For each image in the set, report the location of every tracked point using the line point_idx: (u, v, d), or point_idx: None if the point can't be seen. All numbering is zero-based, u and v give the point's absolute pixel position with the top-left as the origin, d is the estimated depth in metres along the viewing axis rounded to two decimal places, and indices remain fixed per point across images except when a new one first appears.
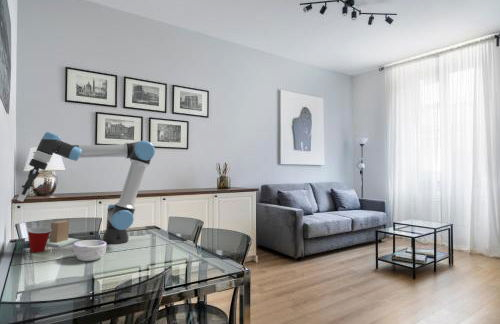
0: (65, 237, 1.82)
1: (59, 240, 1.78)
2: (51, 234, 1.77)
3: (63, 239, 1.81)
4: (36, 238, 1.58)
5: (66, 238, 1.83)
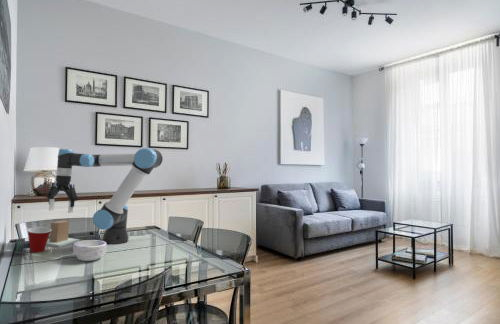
0: (65, 237, 1.82)
1: (59, 240, 1.78)
2: (51, 234, 1.77)
3: (63, 239, 1.81)
4: (36, 238, 1.58)
5: (66, 238, 1.83)
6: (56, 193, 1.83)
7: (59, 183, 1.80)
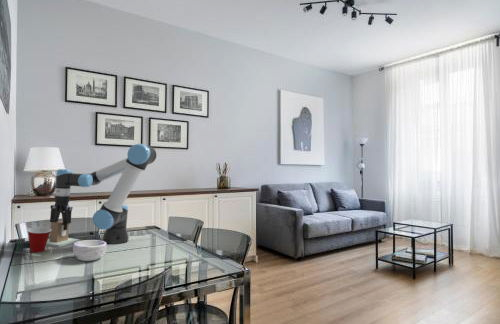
0: (65, 237, 1.82)
1: (59, 240, 1.78)
2: (51, 234, 1.77)
3: (63, 239, 1.81)
4: (36, 238, 1.58)
5: (66, 238, 1.83)
6: (58, 215, 1.82)
7: None
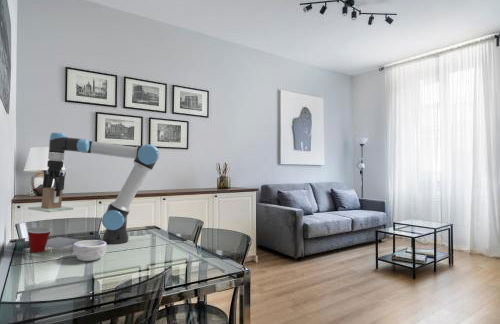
0: (58, 204, 1.73)
1: (51, 207, 1.69)
2: (43, 200, 1.69)
3: (56, 206, 1.72)
4: (36, 238, 1.58)
5: (59, 205, 1.74)
6: (51, 181, 1.73)
7: (50, 167, 1.72)
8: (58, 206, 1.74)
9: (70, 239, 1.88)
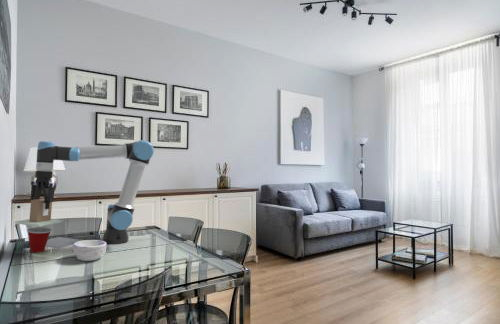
0: (47, 217, 1.64)
1: (40, 220, 1.59)
2: (31, 213, 1.59)
3: (45, 219, 1.62)
4: (36, 238, 1.58)
5: (48, 218, 1.64)
6: (39, 193, 1.63)
7: (38, 178, 1.62)
8: (47, 219, 1.64)
9: (70, 239, 1.88)
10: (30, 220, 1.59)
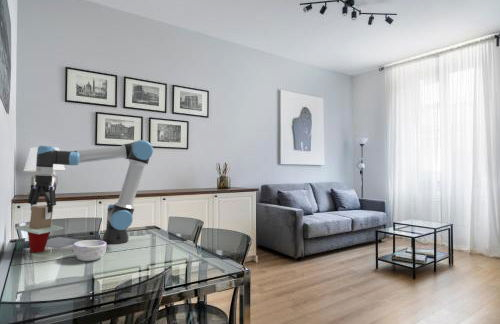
0: (47, 224, 1.64)
1: (40, 227, 1.59)
2: (31, 219, 1.59)
3: (45, 226, 1.62)
4: (36, 238, 1.58)
5: (48, 225, 1.64)
6: (38, 196, 1.64)
7: (38, 183, 1.62)
8: (47, 225, 1.64)
9: (70, 239, 1.88)
10: (30, 226, 1.59)
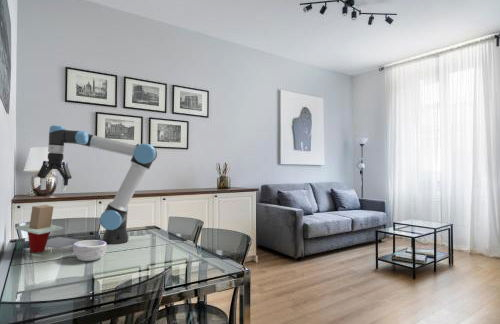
0: (47, 224, 1.64)
1: (40, 227, 1.59)
2: (32, 219, 1.59)
3: (45, 226, 1.62)
4: (36, 238, 1.58)
5: (48, 225, 1.64)
6: (48, 172, 1.76)
7: (51, 161, 1.74)
8: (47, 226, 1.64)
9: (70, 239, 1.88)
10: (30, 226, 1.59)
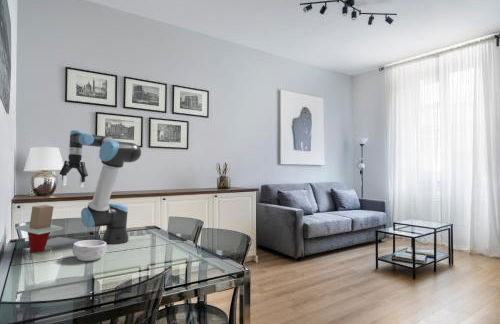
0: (47, 224, 1.64)
1: (40, 227, 1.59)
2: (32, 219, 1.59)
3: (45, 226, 1.62)
4: (36, 238, 1.58)
5: (48, 225, 1.64)
6: (68, 170, 2.04)
7: (71, 161, 2.02)
8: (47, 226, 1.64)
9: (70, 239, 1.88)
10: (30, 226, 1.59)
